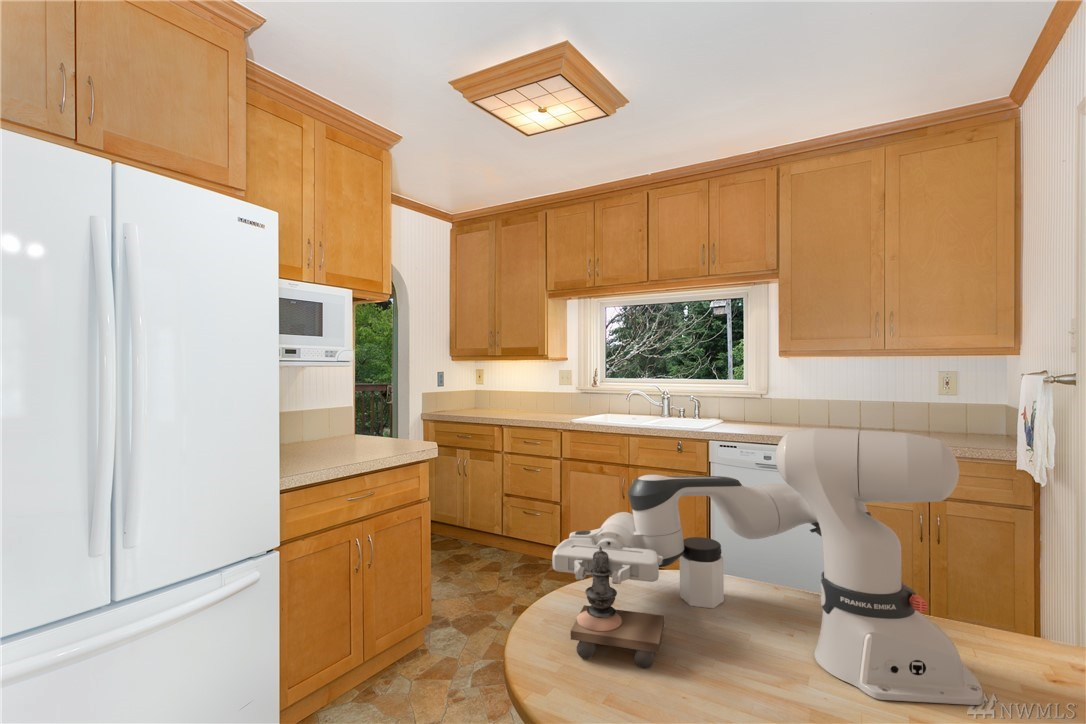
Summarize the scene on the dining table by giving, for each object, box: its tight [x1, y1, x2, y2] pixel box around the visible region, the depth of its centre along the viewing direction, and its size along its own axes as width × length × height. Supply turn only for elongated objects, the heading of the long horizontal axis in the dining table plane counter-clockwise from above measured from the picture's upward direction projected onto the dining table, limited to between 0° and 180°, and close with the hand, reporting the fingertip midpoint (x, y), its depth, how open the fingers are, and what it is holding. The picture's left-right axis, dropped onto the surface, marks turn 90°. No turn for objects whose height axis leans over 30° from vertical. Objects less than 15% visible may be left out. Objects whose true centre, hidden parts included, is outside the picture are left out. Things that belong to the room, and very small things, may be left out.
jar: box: [678, 536, 725, 609], centre depth 113 cm, size 9×8×12 cm
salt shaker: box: [584, 546, 618, 618], centre depth 99 cm, size 6×6×12 cm
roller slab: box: [570, 604, 665, 670], centre depth 95 cm, size 15×10×5 cm, turn 72°
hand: (597, 577), depth 95 cm, fingers open, 5 cm apart
